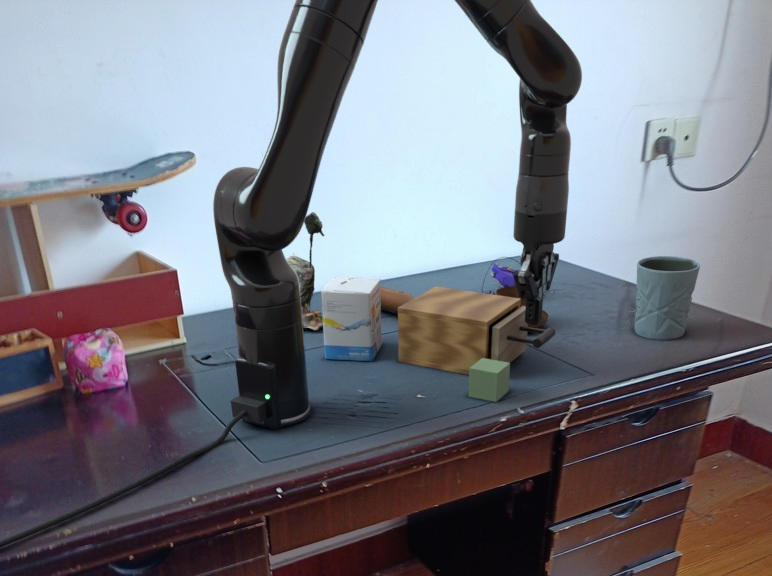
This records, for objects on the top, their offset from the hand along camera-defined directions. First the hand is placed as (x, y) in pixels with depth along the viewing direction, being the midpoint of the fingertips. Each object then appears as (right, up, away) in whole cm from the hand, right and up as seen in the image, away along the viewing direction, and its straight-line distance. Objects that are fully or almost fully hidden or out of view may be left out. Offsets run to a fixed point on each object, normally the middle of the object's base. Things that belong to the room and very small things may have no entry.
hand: (532, 322), depth 129 cm
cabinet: (-11, -3, +10) cm, 15 cm away
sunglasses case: (-21, +10, +32) cm, 39 cm away
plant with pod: (-38, +6, +26) cm, 46 cm away
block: (-7, -12, -4) cm, 15 cm away
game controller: (+1, +14, +37) cm, 39 cm away
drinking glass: (+25, +3, +18) cm, 31 cm away
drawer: (-6, -4, +7) cm, 10 cm away
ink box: (-28, -2, +13) cm, 31 cm away
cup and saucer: (+1, +5, +22) cm, 23 cm away
